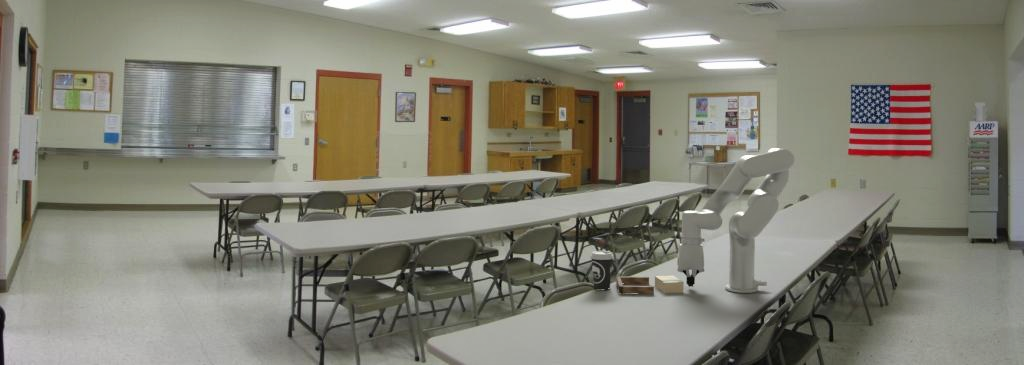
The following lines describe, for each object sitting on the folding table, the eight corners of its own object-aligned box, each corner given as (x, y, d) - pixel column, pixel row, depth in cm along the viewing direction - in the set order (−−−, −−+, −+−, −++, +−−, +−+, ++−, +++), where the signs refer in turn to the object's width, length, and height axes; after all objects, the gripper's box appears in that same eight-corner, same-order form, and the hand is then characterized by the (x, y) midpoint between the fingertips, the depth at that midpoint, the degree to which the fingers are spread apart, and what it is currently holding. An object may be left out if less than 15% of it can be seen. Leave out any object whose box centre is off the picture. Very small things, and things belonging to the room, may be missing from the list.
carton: (673, 286, 275) (673, 275, 274) (683, 293, 263) (683, 281, 262) (654, 286, 274) (654, 275, 274) (663, 293, 262) (663, 282, 262)
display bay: (648, 283, 278) (648, 276, 278) (653, 294, 260) (653, 286, 260) (616, 283, 279) (616, 276, 279) (619, 294, 261) (619, 286, 261)
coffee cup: (613, 291, 265) (613, 255, 264) (589, 290, 267) (589, 254, 266) (614, 286, 274) (614, 250, 273) (591, 285, 276) (591, 250, 275)
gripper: (708, 240, 269) (707, 284, 270) (670, 239, 270) (670, 283, 272) (712, 243, 261) (711, 288, 263) (673, 242, 263) (673, 287, 264)
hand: (690, 285), depth 267 cm, fingers closed
